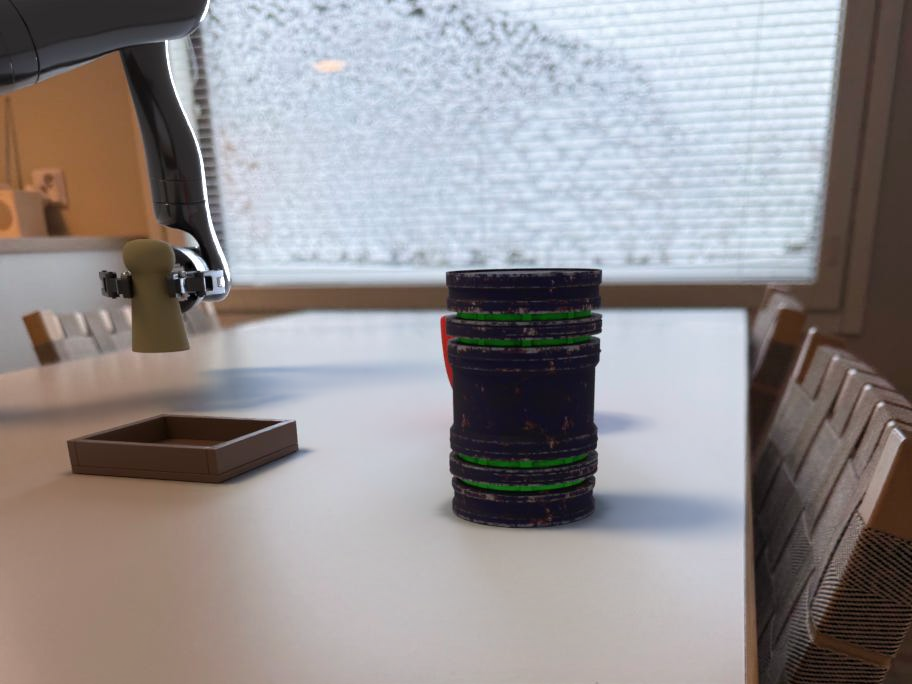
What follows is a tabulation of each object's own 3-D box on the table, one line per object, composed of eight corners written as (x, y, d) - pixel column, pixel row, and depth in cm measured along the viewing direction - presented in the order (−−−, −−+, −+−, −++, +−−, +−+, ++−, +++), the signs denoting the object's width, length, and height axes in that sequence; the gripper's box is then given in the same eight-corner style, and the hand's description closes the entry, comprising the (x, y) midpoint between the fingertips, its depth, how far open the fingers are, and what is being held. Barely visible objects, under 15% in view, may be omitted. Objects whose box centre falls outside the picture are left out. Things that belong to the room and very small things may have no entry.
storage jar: (421, 506, 65) (411, 272, 59) (526, 482, 71) (527, 267, 65) (518, 537, 58) (518, 275, 52) (627, 508, 64) (638, 269, 58)
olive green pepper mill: (120, 352, 101) (103, 239, 96) (151, 346, 106) (137, 239, 102) (172, 353, 99) (157, 239, 95) (200, 347, 105) (188, 238, 100)
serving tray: (72, 473, 76) (66, 440, 75) (166, 442, 87) (162, 413, 86) (219, 483, 72) (214, 449, 71) (299, 450, 83) (296, 420, 82)
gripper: (105, 246, 111) (69, 247, 95) (230, 245, 113) (215, 246, 97) (115, 314, 114) (82, 326, 98) (237, 311, 116) (223, 323, 100)
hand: (148, 286), depth 98 cm, fingers closed on olive green pepper mill, 4 cm apart
